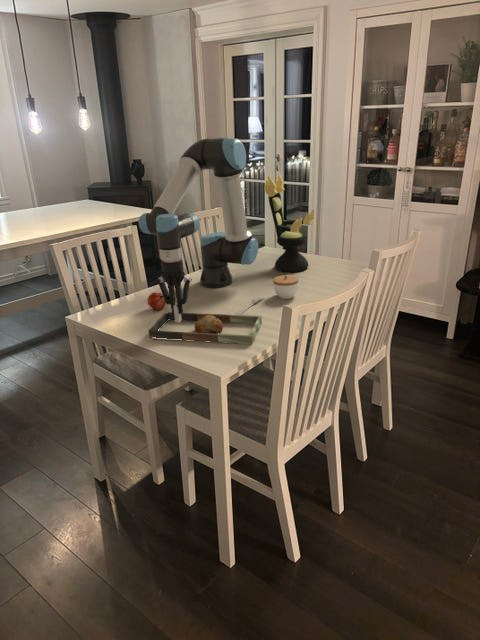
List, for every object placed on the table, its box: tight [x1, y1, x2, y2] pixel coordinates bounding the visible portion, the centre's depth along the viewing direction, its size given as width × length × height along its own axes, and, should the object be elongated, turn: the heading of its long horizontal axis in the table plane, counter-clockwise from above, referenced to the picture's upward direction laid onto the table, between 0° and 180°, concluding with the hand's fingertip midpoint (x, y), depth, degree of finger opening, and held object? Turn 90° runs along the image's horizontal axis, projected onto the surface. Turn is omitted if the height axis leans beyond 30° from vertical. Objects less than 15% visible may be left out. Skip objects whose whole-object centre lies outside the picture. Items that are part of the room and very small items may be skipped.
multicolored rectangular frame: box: [148, 311, 263, 345], centre depth 175 cm, size 18×38×3 cm, turn 77°
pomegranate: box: [146, 292, 167, 311], centre depth 198 cm, size 7×7×10 cm
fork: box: [234, 297, 264, 315], centre depth 196 cm, size 3×21×3 cm, turn 147°
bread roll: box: [194, 315, 224, 334], centre depth 175 cm, size 10×10×8 cm
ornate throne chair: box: [263, 174, 315, 273], centre depth 232 cm, size 19×22×45 cm
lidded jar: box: [272, 274, 300, 300], centre depth 202 cm, size 11×11×9 cm
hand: (178, 321), depth 177 cm, fingers closed
